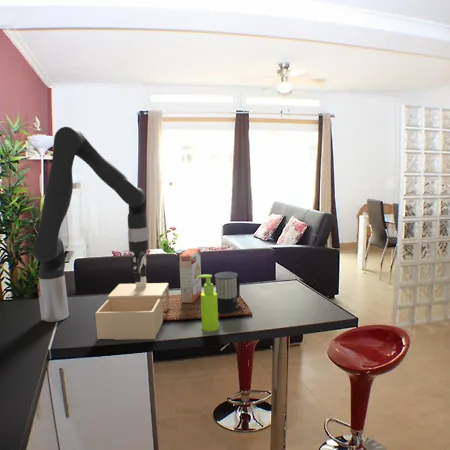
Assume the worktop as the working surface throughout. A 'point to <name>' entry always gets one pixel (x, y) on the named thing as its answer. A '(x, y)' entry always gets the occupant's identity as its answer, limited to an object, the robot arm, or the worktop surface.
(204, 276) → the soap dispenser
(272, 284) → the worktop surface
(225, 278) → the milk frother
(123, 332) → the open wooden box
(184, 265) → the cracker box
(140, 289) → the wooden box lid
